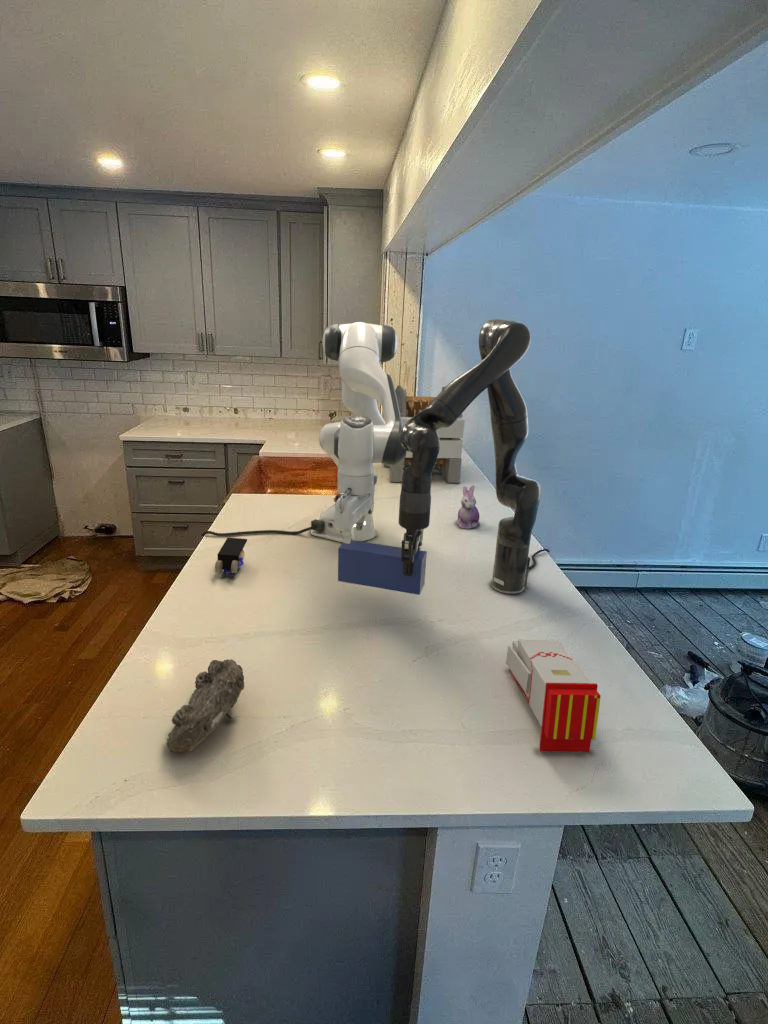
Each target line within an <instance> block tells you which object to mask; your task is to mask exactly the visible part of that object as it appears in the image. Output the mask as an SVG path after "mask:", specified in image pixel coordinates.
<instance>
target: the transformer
mask: <svg viewBox="0 0 768 1024" xmlns="http://www.w3.org/2000/svg"><path fill="white" fill-rule="evenodd" d="M445 387H446V386H442V387H441V391H442V390H443V389H444V388H445ZM395 392H396V397H397V401H398V406H399V411H400V416H401V421H402V425H403V426H404V425H405V424H406V423H407V422H408V421H409V420H410V419H411V418H413V417H414V416H415V415H417V414H418V413H419V412H420V411H422V410H423V409H425V408H426V407H428V406H429V405H430V404H431V403H432V402H433V400H434V399H435V398H436V397H437V396H415V395H414V396H413V395H412V396H411V395H407V394H408V393H407V390H406V389H404V388H403V387H402V385H399V384H398V385H397V386H396V388H395ZM464 429H465V419H464V418H463V413H462V414H461V415H460V416H459V417H458V419H457V420H456V421H455V422H454V423H453V424H452V425H451V426H450V427H447V428H440V429H438V430H436V432H437V434H438V436H439V440H440V449H439V453H438V457H437V460H436V463H435V466H434V467H436V468H437V470H438V469H439V473H440V474H441V475H443V478H444V479H445V481H446V482H447V483H449V484H455V483H456V484H459V483H461V472H462V461H463V460H462V453H463V442H464V441H463V440H462V439H463V438H464V431H465V430H464ZM412 456H413V454H412V453H410V452H408V451H407V453H406V457H405V458H404V459H403V460H401V461H400V462H399V463H397V464H396V465H388V464H383V466H384V467H388V468H389V475H388V476H389V477H388V478H389V480H390V482H391V483H402V471H403V468H404V466H405V465H407V464H409V463H411V461H412Z"/></svg>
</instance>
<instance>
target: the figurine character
mask: <svg viewBox="0 0 768 1024" xmlns="http://www.w3.org/2000/svg"><path fill="white" fill-rule="evenodd" d="M247 542H248V538H240V537H226V539H225V541H224V543H223V544H222V546H221V547H220V549H219V551H218V552H217V560H216V562H215V564H214V572H215V573H221V577H222V578H224V577H225V576H226V574H227V573H230V574H231V573H232V574H231V578H234V577H235V575H236V573H237V572H239V571H240V567H242V566H243V565H244V564H245V562H244V558H245V551H244V547H245V546H246V544H247Z"/></svg>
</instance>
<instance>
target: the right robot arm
mask: <svg viewBox="0 0 768 1024" xmlns="http://www.w3.org/2000/svg"><path fill="white" fill-rule="evenodd" d="M531 337H532V336H531V332H530V329H529V327H528V326H527V325H526V324H525V323H523V322H519V321H514V320H507V319H506V320H505V319H499V318H493V319H492V318H491V319H489V320H487V321H486V322H484V323H483V325H482V327H481V328H480V331H479V334H478V350H479V354H480V355H479V356H480V359H481V361H480V362H478V363H477V364H476V365H475V366H473V367H471V368H470V369H469V370H467V371H466V372H463V373H462V374H460V375H459V376H457V377H456V378H454V379H453V380H452V381H450V382H449V383H448V384H447V385H446V386H444V387H445V388H444V389H443V390H442V389H441V391H440V392H439V393H438V394H437V396H435V397H436V398H435V399H434V400H433V402H432V403H431V404H430V405H429V406H428V407H426V408H425V409H423V410H422V411H420V412H419V413H418V414H417V415H415V416H414V417H413V418H411V419H410V420H409V421H408V422H407V423H406V424H405V425H404V426H403V428H402V429H401V431H400V434H399V444H400V446H401V447H402V448H403V449H404V450H406V451H408V452H410V453H412V454H413V456H412V461H411V463H409V464H407V465H404V468H403V471H402V482H401V489H400V495H399V504H398V525H399V526H400V527H401V528H403V529H405V530H406V531H405V532H404V533H403V537H402V540H401V542H400V544H401V548H402V552H401V562H404V571H403V574H404V575H405V576H412V574H413V562H414V555H415V554H416V553H417V550H421V551H422V547H423V540H424V539H423V538H424V530H426V529H427V528H429V526H430V523H431V522H430V521H431V520H430V519H431V505H432V495H431V494H432V477H433V476H432V474H433V472H434V469H435V467H436V466H435V463H436V460H437V457H438V453H439V449H440V440H439V436H438V434H437V432H436V430H438V429H440V428H447V427H450V426H451V425H452V424H453V423H454V422H455V421H456V420H457V419H458V417H459V416H460V415H461V414H462V415H463V413H464V412H465V411H466V410H467V408H468V407H469V406H470V405H471V404H472V403H473V401H475V399H477V397H479V396H480V394H482V393H483V392H484V391H485V390H487V397H488V404H489V413H490V414H489V415H490V425H491V432H492V433H491V434H492V439H493V449H494V462H495V463H494V464H495V495H496V499H497V501H498V503H500V504H501V505H502V506H504V507H507V508H510V509H511V510H512V509H513V510H514V515H513V516H508V517H504V518H502V519H500V520H499V522H498V526H497V535H496V542H495V543H496V544H495V550H494V551H495V552H494V560H493V568H492V577H491V582H490V586H491V588H492V589H493V590H495V591H497V592H499V593H502V594H508V595H517V594H520V593H523V592H524V590H525V589H526V588H527V584H528V578H529V577H528V576H529V571H530V570H531V569H533V568H534V567H535V566H536V564H537V561H536V558H535V557H536V556H537V555H539V554H540V553H542V552H547V553H551V552H550V549H548V548H542V549H543V550H542V549H539V550H537V551H536V552H535V553H533V554H532V555H531V557H530V556H529V554H530V547H531V546H530V545H531V540H532V534H533V533H532V532H533V529H534V526H535V524H536V521H537V516H538V511H539V505H540V500H541V495H542V492H541V485H540V483H539V482H538V481H537V480H535V479H532V478H530V477H525V476H522V475H519V473H518V470H517V457H518V454H519V452H520V451H521V449H522V447H523V445H524V444H525V442H526V440H527V438H528V435H529V415H528V408H527V405H526V402H525V400H524V398H523V396H522V394H521V392H520V389H519V388H518V385H516V383H515V380H514V378H513V375H512V372H511V368H512V367H514V365H516V364H517V363H518V362H519V361H520V360H521V359H522V358H523V357H524V356H525V355H526V353H527V352H528V350H529V348H530V345H531V341H532V338H531ZM413 549H414V550H413ZM407 555H409V557H406V556H407ZM531 559H532V561H533V563H532V564H530V563H531Z"/></svg>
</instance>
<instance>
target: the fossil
mask: <svg viewBox="0 0 768 1024" xmlns="http://www.w3.org/2000/svg"><path fill="white" fill-rule="evenodd" d="M243 670H244V669H243V667H242V665H240V664H237V662H236V661H235V660H234V659H232V658H231V659H227V658H226V659H224V660H223V661H222V660H217V659H212V660H211V661H210V663H209V665H208V666H207V671H201V672H199V673H198V674H197V675H196V676H195V680H194V684H195V685H194V687H195V689H194V690H193V693H192V694H191V697H190V698H189V700H188V704H184V705H182V706H181V707H180V709H177V710H176V711H175V713H174V715H173V716H172V718H171V723H172V724H173V727H172V730H171V731H170V732H168V734H167V738H166V741H167V742H166V745H167V749H168V750H169V751H173V752H174V753H176V754H178V753H182V752H188V751H189V752H192V751H193V750H195V748H196V747H197V746H199V744H200V743H201V742H203V741H204V740H205V739H206V738H207V737H208V736H209V735H210V734H211V733H212V732H214V730H215V729H217V727H218V726H219V724H220V722H221V721H222V720H223V719H224V718H225V716H226V717H227V719H229V720H233V717H232V715H230V714H229V710H230V709H231V708H234V706H235V704H236V703H237V702H238V699H239V697H240V695H241V693H242V691H243V690H245V689H244V688H245V675H244V671H243Z"/></svg>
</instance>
